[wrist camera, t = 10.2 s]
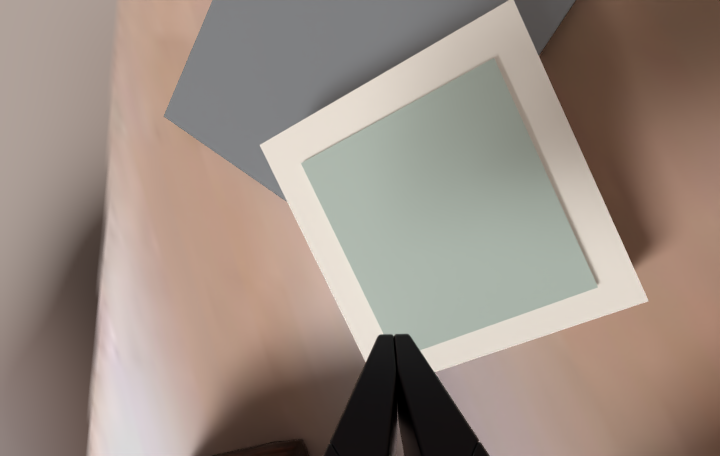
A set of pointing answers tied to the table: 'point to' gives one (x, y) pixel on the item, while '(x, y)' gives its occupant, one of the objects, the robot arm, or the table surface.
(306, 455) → the coffee grinder
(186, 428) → the table surface
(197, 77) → the mat
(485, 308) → the picture frame
